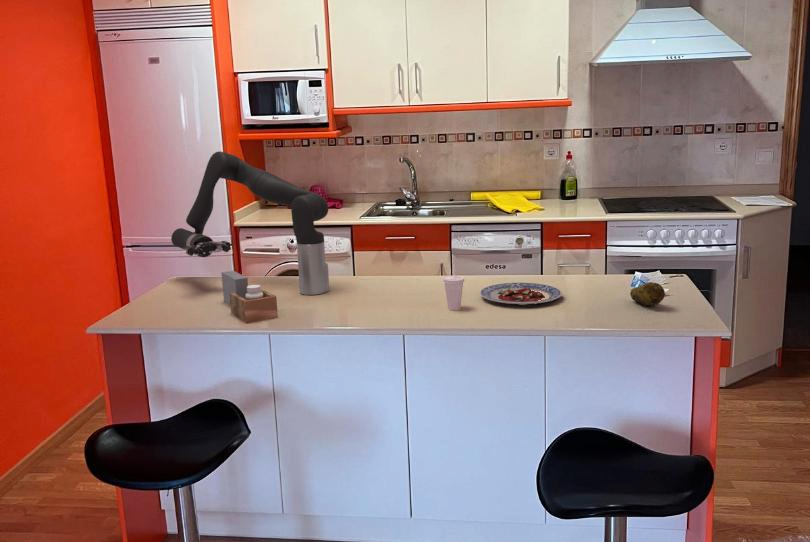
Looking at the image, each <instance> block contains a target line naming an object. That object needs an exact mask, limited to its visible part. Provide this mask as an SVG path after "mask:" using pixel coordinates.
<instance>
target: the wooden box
mask: <svg viewBox="0 0 810 542" xmlns="http://www.w3.org/2000/svg"><path fill="white" fill-rule="evenodd" d="M260 289H261V290H260V292H262V293H263V297H264V298H258V299H252V300H246V299H244V298H242V297H240V296H239V295H237V294H235V293H230V305H231V306H230V305H229V306H230V314H232V315H233V316H235V317H236V318H237V319H239V320H241V321H242V322H244V323H245V324H249V323H254V322H261V321H266V320H270V319H275V318H279V316H278V315H279V313H278V304H277V303H278V302H277V299H278V298H277V296H276V295H275V294H273V293H272V292H271V293H270V292H268V291H267V290H264V289H263V288H261V287H260Z"/></svg>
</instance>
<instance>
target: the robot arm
mask: <svg viewBox="0 0 810 542" xmlns="http://www.w3.org/2000/svg"><path fill="white" fill-rule="evenodd" d="M220 179H224V180H227V181H231V182H236V183H237V184H238V183H239V184H241V185H243V186H245V187H246V188H247V189H248V190H249V191H250V192H251V193H252V194H254V195H255V196H256V197H258V198H260V199H262V200H264V201H265V202H268V203H269V202H270V203H271V204H272V203H273V204H275V205H276V204H277V205H283V206H289V207H291V209H290V210H291V219H292V220H291V222H292V229H293V234H294V237H295V240H296V252H297V253H296V254H297V266H298V267H297V268H298V282H299V284H298V285H299V293H300V294H302V295H304V296H305V295H306V296H313V295H320V294H321V295H322V294H325V293H327V292H330V279H329V276H330V275H329V265H328V263H327V262H326V249H325V235H324V233H323V232H322V231H319V230H316V229H315V222H318V221H320V220H322V219H325V218H326V216H327V215H328V212H329V205H328V203H327V200H326V199H325V198H324V196H322V195H321V194H319V193H316V192H313V191H311V190H308V189H305V188H301V187H299V186H298V185H295V184H293V183H291V182H289V181H287V180H285V179H283V178H281V177H279V176H277V175H275V174H273V173H271V172H269V171H266V170H264V169H262V168H256V167H255V166H252V165H250V164H249V163H247V162H245V161H244V160H243V159H242V158H240V157H238V156H237V155H235V154H231V153H228V152H224V151H216V152H213V154H212V155H211V156H210V158H209V160H208V162H207V164H206V167H205V172H204V173H203V178H202V180H201V184H200V187H199V190H198V192H197V196H196V198H195V201H194V203H193V205H192V207H191V209H190V210H189V213H188V214H187V216H186V219H185V220H186V221H185V222H186V224H187V225H188V226H189V227H191V228H193V229H194V232H193V231H190V230H187V229H185V228H182V227H180V228H177V229H175V230H174V231H173V232H172V235H171V236H170V237H171V239H170V241H171V244H172V245H173V246H174V247H177V248H180V249H183V250H185V254H186V255H188V256H190V257H192V256H194V255H195V256H197V257H200V258H207V257H210V256H211V255H212V254H214V253H221V252H225V253H229V251H230V250H232V248H231V247H232V246H231V242H229V241H226V240H221V242H220V241H214V240H213V238H211V237H210V236H208V235H205V234H203V233H204V229H205V227H206V224H207V223H208V220H209V219H210V217H211V215H212V212H213V209H214V194H215V193H214V191H215V189H216V186H217V184H218V182H219V180H220Z"/></svg>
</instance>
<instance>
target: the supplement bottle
mask: <svg viewBox="0 0 810 542" xmlns="http://www.w3.org/2000/svg"><path fill="white" fill-rule="evenodd" d="M260 288H261V285H260V284H251V285H250V284H249V285H248V286H247V291H248V293H247V294H246V296H245V298H246V300H252V299H258V298H264V297H263V293H262V292H260V290H261V289H262V288H261V289H260Z"/></svg>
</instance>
